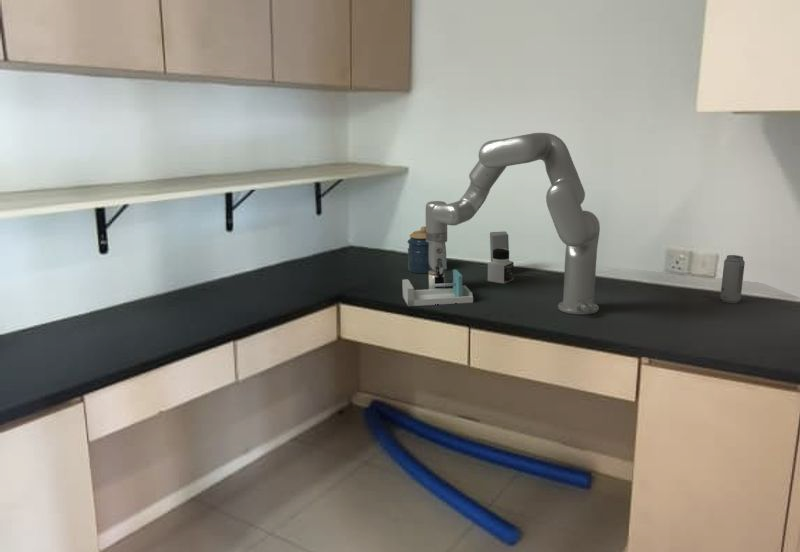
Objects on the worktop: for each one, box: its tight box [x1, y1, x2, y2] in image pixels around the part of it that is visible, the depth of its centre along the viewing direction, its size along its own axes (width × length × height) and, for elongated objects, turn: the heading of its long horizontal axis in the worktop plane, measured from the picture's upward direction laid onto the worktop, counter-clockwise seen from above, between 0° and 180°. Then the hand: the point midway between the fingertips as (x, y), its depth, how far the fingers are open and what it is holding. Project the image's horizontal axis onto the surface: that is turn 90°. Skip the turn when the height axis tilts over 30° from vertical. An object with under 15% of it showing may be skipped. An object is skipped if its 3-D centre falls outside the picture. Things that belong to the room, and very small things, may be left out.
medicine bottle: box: [487, 248, 514, 284], centre depth 255 cm, size 7×7×12 cm
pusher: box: [432, 269, 463, 297], centre depth 233 cm, size 9×9×8 cm
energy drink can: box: [719, 254, 745, 304], centre depth 224 cm, size 6×6×15 cm
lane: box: [402, 278, 474, 307], centre depth 233 cm, size 12×22×6 cm, turn 98°
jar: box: [427, 269, 446, 289], centre depth 244 cm, size 6×6×7 cm
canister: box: [407, 225, 430, 274], centre depth 272 cm, size 13×13×18 cm
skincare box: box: [489, 230, 510, 262], centre depth 267 cm, size 8×7×16 cm
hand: (436, 284), depth 244 cm, fingers open, 9 cm apart
